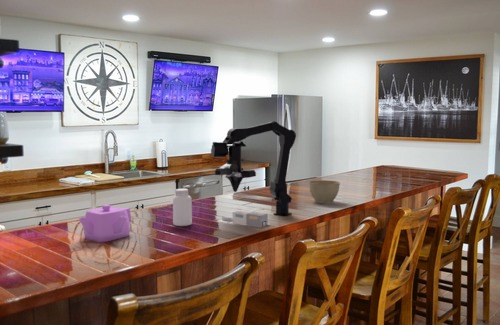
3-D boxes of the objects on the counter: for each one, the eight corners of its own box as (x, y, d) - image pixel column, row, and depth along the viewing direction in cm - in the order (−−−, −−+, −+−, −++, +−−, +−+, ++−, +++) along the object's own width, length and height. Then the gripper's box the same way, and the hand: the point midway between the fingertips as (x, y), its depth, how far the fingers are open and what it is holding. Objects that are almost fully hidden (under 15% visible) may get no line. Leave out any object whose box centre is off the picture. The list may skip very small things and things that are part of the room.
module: (239, 220, 212) (239, 210, 212) (253, 222, 208) (253, 211, 208) (232, 222, 207) (232, 212, 207) (246, 224, 204) (246, 213, 203)
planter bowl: (345, 203, 252) (345, 183, 251) (318, 206, 246) (318, 184, 245) (329, 198, 267) (329, 179, 266) (303, 201, 261) (303, 180, 260)
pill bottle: (174, 226, 202) (173, 191, 201) (172, 222, 210) (171, 188, 208) (193, 225, 204) (192, 190, 203) (190, 221, 212) (189, 187, 210)
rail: (227, 218, 217) (227, 214, 217) (270, 224, 205) (270, 220, 205) (217, 222, 211) (217, 218, 211) (260, 228, 199) (260, 224, 198)
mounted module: (253, 222, 208) (253, 211, 208) (267, 224, 204) (267, 213, 204) (246, 224, 204) (246, 213, 203) (260, 226, 200) (260, 215, 199)
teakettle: (132, 231, 196) (131, 200, 195) (126, 241, 179) (125, 208, 178) (88, 232, 194) (87, 201, 193) (79, 243, 177) (77, 210, 176)
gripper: (207, 157, 214) (207, 192, 216) (242, 159, 204) (242, 196, 206) (222, 155, 224) (222, 189, 225) (256, 157, 213) (256, 192, 215)
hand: (235, 191), depth 218 cm, fingers closed
